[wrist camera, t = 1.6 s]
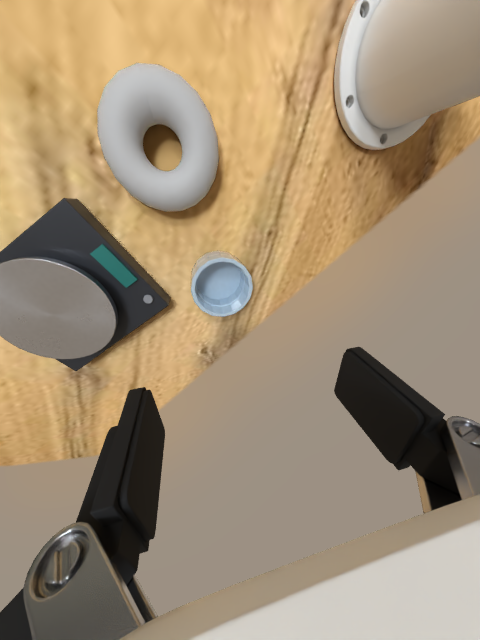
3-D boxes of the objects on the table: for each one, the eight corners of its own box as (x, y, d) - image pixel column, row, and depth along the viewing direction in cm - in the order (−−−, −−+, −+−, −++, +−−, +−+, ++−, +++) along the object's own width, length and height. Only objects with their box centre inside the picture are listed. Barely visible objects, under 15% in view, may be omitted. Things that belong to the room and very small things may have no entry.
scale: (77, 198, 20) (61, 197, 18) (170, 297, 27) (168, 306, 24) (-29, 287, 22) (-56, 297, 19) (84, 359, 28) (74, 373, 26)
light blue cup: (224, 238, 24) (231, 244, 21) (252, 282, 28) (262, 294, 24) (179, 271, 25) (177, 283, 21) (212, 310, 29) (215, 326, 25)
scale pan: (41, 230, 17) (35, 231, 17) (140, 318, 23) (139, 322, 22) (-46, 303, 19) (-55, 306, 18) (69, 370, 24) (65, 374, 24)
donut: (157, 229, 23) (234, 179, 22) (151, 233, 20) (241, 175, 19) (78, 119, 18) (176, 47, 17) (55, 102, 15) (172, 13, 14)
